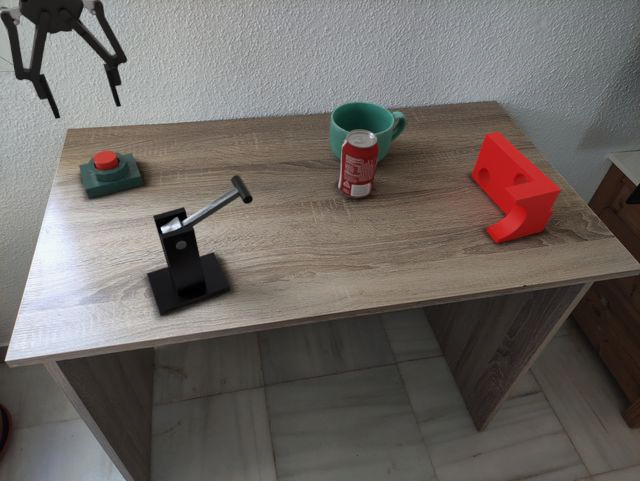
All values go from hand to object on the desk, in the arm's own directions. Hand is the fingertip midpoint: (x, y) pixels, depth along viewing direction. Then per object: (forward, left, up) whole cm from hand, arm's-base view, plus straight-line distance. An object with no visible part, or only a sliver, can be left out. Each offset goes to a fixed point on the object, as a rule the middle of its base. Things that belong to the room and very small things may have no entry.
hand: (87, 108), depth 80 cm
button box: (0, 0, -15) cm, 15 cm away
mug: (+50, -13, -16) cm, 54 cm away
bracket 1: (+6, -32, -15) cm, 36 cm away
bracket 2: (+64, -37, -16) cm, 76 cm away
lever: (+11, -32, -3) cm, 34 cm away
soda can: (+42, -22, -16) cm, 50 cm away
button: (0, 0, -12) cm, 12 cm away
